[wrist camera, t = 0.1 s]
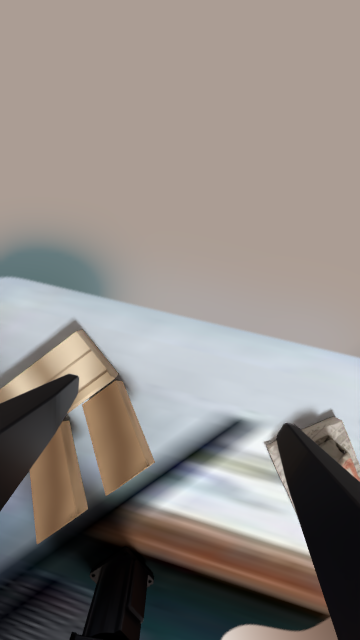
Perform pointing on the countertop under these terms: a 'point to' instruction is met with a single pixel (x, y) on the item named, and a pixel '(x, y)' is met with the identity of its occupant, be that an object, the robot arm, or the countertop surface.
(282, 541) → the countertop surface
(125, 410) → the outer oak plank
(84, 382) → the pine floorboard strip
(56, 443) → the inner oak plank
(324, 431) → the packaged product
